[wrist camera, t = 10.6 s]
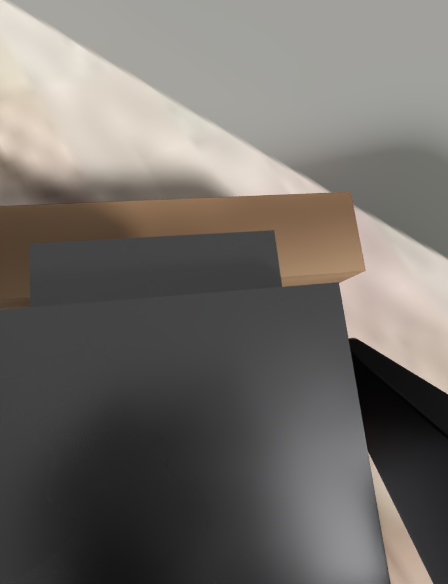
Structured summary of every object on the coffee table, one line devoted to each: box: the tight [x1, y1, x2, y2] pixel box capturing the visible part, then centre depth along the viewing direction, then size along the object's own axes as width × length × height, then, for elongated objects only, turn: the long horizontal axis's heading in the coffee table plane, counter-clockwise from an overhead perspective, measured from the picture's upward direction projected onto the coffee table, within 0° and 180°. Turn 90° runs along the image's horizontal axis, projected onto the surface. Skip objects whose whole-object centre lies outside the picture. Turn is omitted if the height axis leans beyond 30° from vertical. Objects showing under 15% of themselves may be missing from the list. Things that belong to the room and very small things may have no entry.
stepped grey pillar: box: [0, 230, 390, 584], centre depth 10 cm, size 5×5×12 cm
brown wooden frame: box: [0, 192, 366, 310], centre depth 14 cm, size 11×14×6 cm
